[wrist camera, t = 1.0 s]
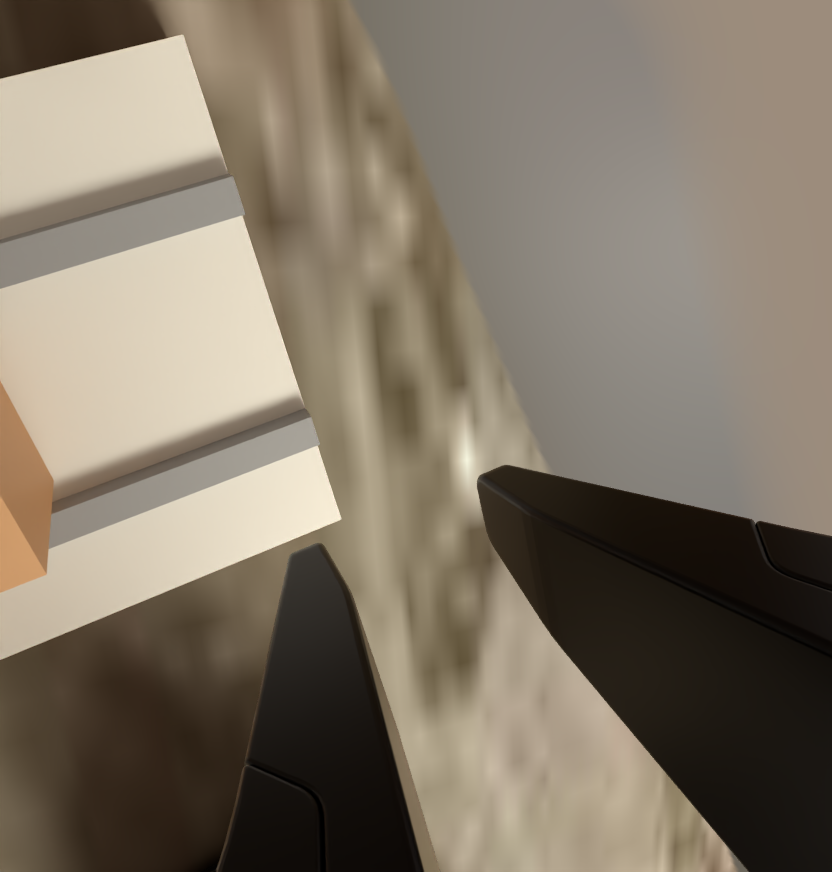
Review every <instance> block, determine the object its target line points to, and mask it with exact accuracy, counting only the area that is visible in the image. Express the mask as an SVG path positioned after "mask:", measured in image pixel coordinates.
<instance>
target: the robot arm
mask: <svg viewBox="0 0 832 872" xmlns="http://www.w3.org/2000/svg"><path fill="white" fill-rule="evenodd" d="M477 489H478V494H479V499H480V503H481V508H482V513H483V517H484V522H485V527H486V531H487V534H488V537H489V539H490V541H491V543H492V545H493V547H494V549H495V550H496V552H497V553H498V555H499V556H500V558H501V559H502V561H503V562H504V564H505V565H506V567H507V569H508V570H509V572H510V573H511V575H512V576H513V578H514V579H515V581H516V582H517V584H518V586H519V587H520V589H521V590H522V592H523V593H524V595H525V596H526V598H527V599H528V601H529V602H530V604H531V606H532V607H533V609H534V610H535V612H536V613H537V615H538V616H539V618H540V619H541V621H542V622H543V624H544V625H545V627H546V628H547V630H548V631H549V633H550V634H551V636H552V637H553V638H554V639H555V641H556V642H557V643H558V645H559V646H560V647H561V648H562V650H563V651H564V652H565V653H566V654H567V656H568V657H569V658H570V659H571V660H572V662H573V663H574V664H575V665H576V666H577V668H578V669H579V670H580V671H581V672H582V674H583V675H584V676H585V677H586V678H587V679H588V681H589V682H590V683H591V684H592V685H593V687H594V688H595V689H596V690H597V691H598V693H599V694H600V695H601V696H602V697H603V699H604V700H605V701H606V702H607V703H608V705H609V706H610V707H611V708H612V709H613V711H614V712H615V713H616V714H617V715H618V716H619V718H620V719H621V720H622V721H623V722H624V724H625V725H626V726H627V727H628V728H629V730H630V731H631V732H632V733H633V734H634V736H635V737H636V738H637V739H638V740H639V742H640V743H641V744H642V745H643V746H644V748H645V749H646V750H647V751H648V752H649V753H650V755H651V756H652V757H653V758H654V759H655V761H656V762H657V763H658V764H659V765H660V767H661V768H662V769H663V770H664V771H665V773H666V774H667V775H668V776H669V777H670V779H671V780H672V781H673V782H674V783H675V785H676V786H677V787H678V788H679V789H680V790H681V792H682V793H683V794H684V795H685V796H686V798H687V799H688V800H689V801H690V802H691V804H692V805H693V806H694V807H695V808H696V810H697V811H698V812H699V813H700V814H701V816H702V817H703V818H704V819H705V820H706V822H707V823H708V824H709V825H710V826H711V827H712V829H713V830H714V831H715V832H716V833H717V835H718V836H719V837H720V838H721V839H722V841H723V842H724V843H725V844H726V845H727V847H728V848H729V849H730V850H731V851H732V853H733V854H734V855H735V856H736V857H737V859H738V860H739V861H740V862H741V863H742V864H743V866H744V867H745V868H746V869H747V870H748V871H749V872H832V536H829V535H824V534H819V533H814V532H809V531H804V530H799V529H794V528H789V527H785V526H781V525H776V524H771V523H767V522H763V521H758V522H757V523H756V525H755V522H754V521H753V520H752V519H749V518H744V517H739V516H735V515H731V514H726V513H721V512H717V511H712V510H708V509H703V508H699V507H694V506H690V505H686V504H681V503H677V502H672V501H668V500H663V499H658V498H654V497H650V496H645V495H641V494H636V493H632V492H627V491H623V490H618V489H614V488H609V487H605V486H600V485H596V484H591V483H587V482H582V481H578V480H573V479H569V478H564V477H560V476H556V475H551V474H547V473H542V472H538V471H533V470H529V469H524V468H520V467H515V466H510V465H503V466H500V467H498V468H496V469H493V470H491V471H489V472H486V473H484V474H482V475H480V476H479V478H478V480H477ZM244 763H245V767H244V768H243V769H242V773H241V778H240V782H239V787H238V792H237V796H236V801H235V805H234V809H233V813H232V817H231V820H230V824H229V828H228V832H227V836H226V840H225V844H224V848H223V851H222V854H221V857H220V860H219V863H218V864H216V865H214V866H212V867H210V868H208V869H206V870H204V871H202V872H440V869H439V866H438V862H437V859H436V856H435V852H434V849H433V846H432V842H431V839H430V836H429V832H428V829H427V826H426V822H425V819H424V815H423V812H422V809H421V805H420V802H419V799H418V795H417V792H416V789H415V785H414V782H413V779H412V775H411V772H410V769H409V765H408V762H407V759H406V755H405V752H404V749H403V745H402V742H401V739H400V735H399V732H398V729H397V726H396V723H395V720H394V717H393V714H392V711H391V708H390V705H389V702H388V699H387V696H386V693H385V690H384V687H383V684H382V681H381V678H380V675H379V672H378V669H377V667H376V664H375V661H374V658H373V655H372V652H371V649H370V646H369V643H368V640H367V637H366V634H365V631H364V628H363V625H362V622H361V619H360V616H359V613H358V610H357V607H356V604H355V601H354V598H353V595H352V593H351V591H350V589H349V587H348V585H347V583H346V582H345V580H344V578H343V577H342V575H341V573H340V572H339V570H338V568H337V567H336V565H335V563H334V562H333V560H332V558H331V556H330V555H329V553H328V551H327V550H326V548H325V546H324V545H323V544H321V543H316V544H313V545H311V546H308V547H306V548H304V549H301V550H299V551H296V552H294V553H292V554H291V555H290V556H289V559H288V563H287V568H286V573H285V577H284V582H283V586H282V591H281V595H280V600H279V605H278V609H277V614H276V618H275V623H274V628H273V632H272V637H271V641H270V646H269V651H268V655H267V660H266V664H265V669H264V674H263V678H262V683H261V687H260V692H259V697H258V701H257V706H256V710H255V715H254V720H253V724H252V729H251V733H250V738H249V743H248V747H247V752H246V756H245V761H244Z"/></svg>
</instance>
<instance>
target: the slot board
mask: <svg viewBox="0 0 832 872" xmlns="http://www.w3.org/2000/svg"><path fill="white" fill-rule="evenodd" d="M242 215H245V211H244V208H243V205H242V202H241V199H240V196H239V193H238V190H237V187H236V184H235V181H234V178H233V176H232V175H230V174H229V173H228V171H227V167H226V164H225V161H224V158H223V155H222V152H221V149H220V146H219V143H218V140H217V137H216V134H215V131H214V128H213V125H212V122H211V118H210V115H209V112H208V109H207V106H206V103H205V100H204V97H203V94H202V91H201V88H200V85H199V82H198V79H197V76H196V73H195V69H194V66H193V63H192V60H191V57H190V54H189V51H188V48H187V45H186V42H185V39H184V36H183V35H179V36H175V37H171V38H167V39H162V40H158V41H154V42H150V43H146V44H142V45H138V46H134V47H130V48H125V49H121V50H117V51H113V52H109V53H105V54H101V55H97V56H93V57H88V58H84V59H80V60H76V61H72V62H68V63H64V64H60V65H55V66H51V67H47V68H43V69H39V70H35V71H31V72H27V73H23V74H18V75H14V76H10V77H6V78H2V79H0V381H1V383H2V385H3V387H4V389H5V391H6V392H7V394H8V396H9V398H10V400H11V402H12V404H13V405H14V407H15V409H16V411H17V413H18V415H19V417H20V418H21V420H22V422H23V424H24V426H25V428H26V430H27V431H28V433H29V435H30V437H31V439H32V441H33V443H34V444H35V446H36V448H37V450H38V452H39V454H40V456H41V457H42V459H43V461H44V463H45V465H46V467H47V469H48V471H49V472H50V474H51V476H52V478H53V480H54V485H53V498H52V511H51V524H50V537H49V550H48V564H47V575H44V576H42V577H39V578H37V579H34V580H32V581H29V582H26V583H24V584H21V585H19V586H16V587H14V588H11V589H9V590H6V591H4V592H1V593H0V660H1V659H4V658H6V657H9V656H11V655H13V654H16V653H18V652H21V651H23V650H26V649H28V648H30V647H33V646H35V645H38V644H40V643H43V642H45V641H47V640H50V639H52V638H55V637H57V636H60V635H62V634H64V633H67V632H69V631H72V630H74V629H77V628H79V627H81V626H84V625H86V624H89V623H91V622H94V621H96V620H98V619H101V618H103V617H106V616H108V615H110V614H113V613H115V612H118V611H120V610H123V609H125V608H127V607H130V606H132V605H135V604H137V603H140V602H142V601H144V600H147V599H149V598H152V597H154V596H157V595H159V594H161V593H164V592H166V591H169V590H171V589H174V588H176V587H178V586H181V585H183V584H186V583H188V582H191V581H193V580H195V579H198V578H200V577H203V576H205V575H208V574H210V573H212V572H215V571H217V570H220V569H222V568H225V567H227V566H229V565H232V564H234V563H237V562H239V561H241V560H244V559H246V558H249V557H251V556H254V555H256V554H258V553H261V552H263V551H266V550H268V549H271V548H273V547H275V546H278V545H280V544H283V543H285V542H288V541H290V540H292V539H295V538H297V537H300V536H302V535H305V534H307V533H309V532H312V531H314V530H317V529H319V528H322V527H324V526H326V525H329V524H331V523H334V522H336V521H339V520H341V517H340V513H339V510H338V507H337V504H336V501H335V498H334V495H333V492H332V489H331V486H330V483H329V480H328V477H327V474H326V471H325V468H324V464H323V461H322V458H321V455H320V452H319V449H318V445H320V443H319V440H318V437H317V434H316V430H315V427H314V424H313V421H312V418H311V416H310V415H309V413H308V412H307V410H306V409H305V406H304V403H303V400H302V397H301V394H300V391H299V388H298V385H297V382H296V379H295V376H294V373H293V370H292V366H291V363H290V360H289V357H288V354H287V351H286V348H285V345H284V342H283V339H282V336H281V333H280V330H279V327H278V324H277V321H276V317H275V314H274V311H273V308H272V305H271V302H270V299H269V296H268V293H267V290H266V287H265V284H264V281H263V278H262V275H261V272H260V268H259V265H258V262H257V259H256V256H255V253H254V250H253V247H252V244H251V241H250V238H249V235H248V232H247V229H246V226H245V223H244V220H243V216H242Z"/></svg>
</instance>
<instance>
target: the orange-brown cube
mask: <svg viewBox="0 0 832 872" xmlns="http://www.w3.org/2000/svg"><path fill="white" fill-rule="evenodd" d="M53 485H54V480H53V478H52V476H51V474H50V472H49V471H48V469H47V467H46V465H45V463H44V461H43V459H42V457H41V456H40V454H39V452H38V450H37V448H36V446H35V444H34V443H33V441H32V439H31V437H30V435H29V433H28V431H27V430H26V428H25V426H24V424H23V422H22V420H21V418H20V417H19V415H18V413H17V411H16V409H15V407H14V405H13V404H12V402H11V400H10V398H9V396H8V394H7V392H6V391H5V389H4V387H3V385H2V383H1V381H0V593H1V592H4V591H6V590H9V589H11V588H14V587H16V586H19V585H21V584H24V583H26V582H29V581H32V580H34V579H37V578H39V577H42V576H44V575H47V564H48V550H49V537H50V524H51V511H52V498H53Z"/></svg>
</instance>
